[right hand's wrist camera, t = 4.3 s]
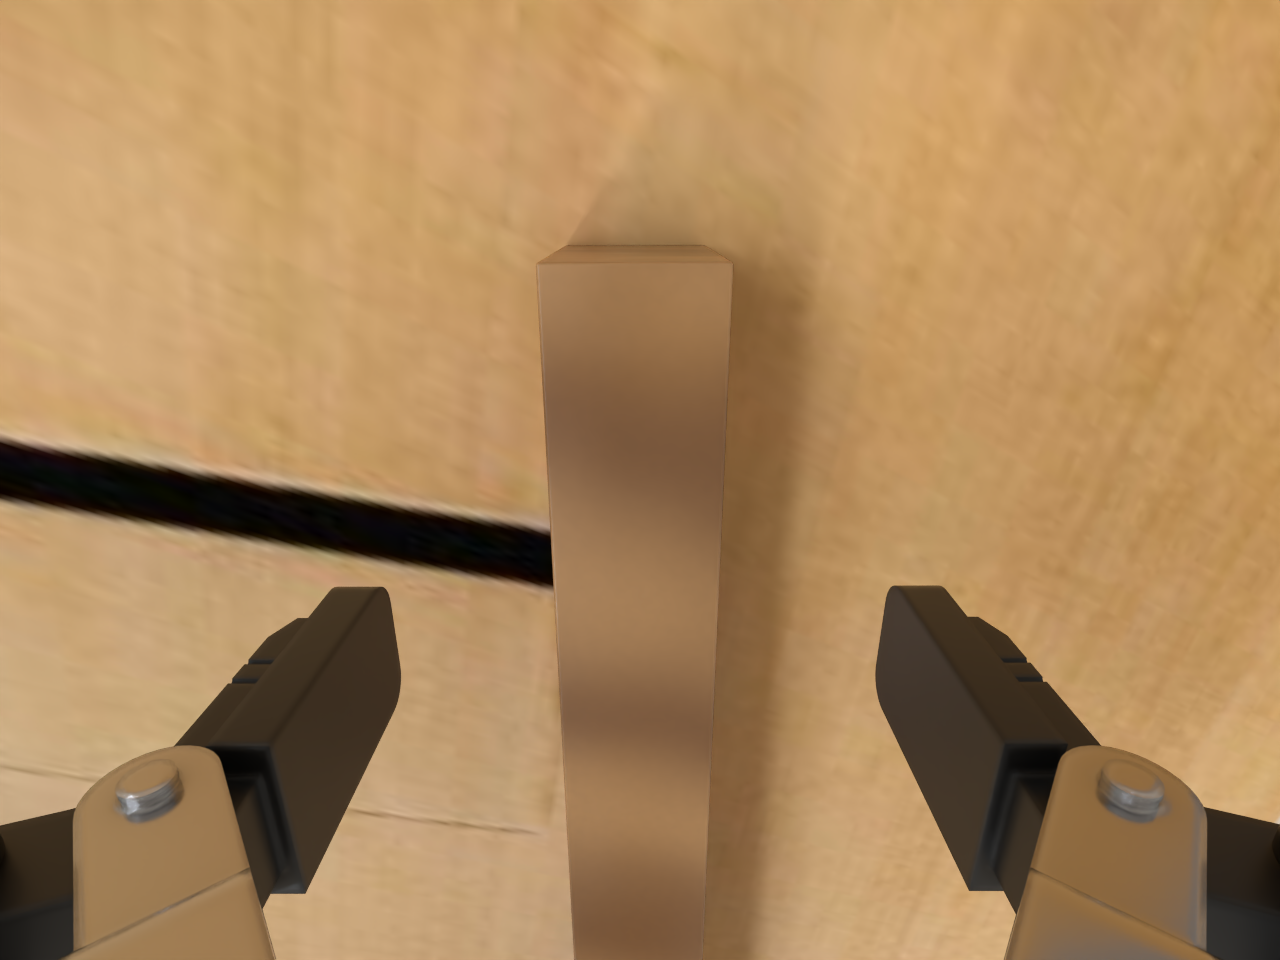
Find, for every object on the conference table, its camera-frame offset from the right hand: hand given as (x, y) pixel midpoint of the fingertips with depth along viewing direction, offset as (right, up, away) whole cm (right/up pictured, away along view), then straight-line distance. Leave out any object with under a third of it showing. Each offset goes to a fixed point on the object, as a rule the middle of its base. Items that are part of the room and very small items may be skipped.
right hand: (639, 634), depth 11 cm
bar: (0, -20, +23) cm, 30 cm away
